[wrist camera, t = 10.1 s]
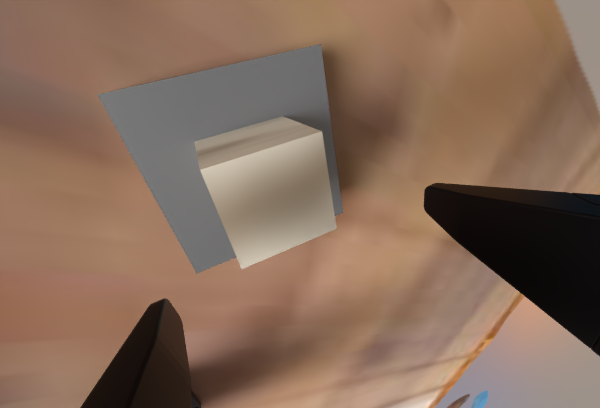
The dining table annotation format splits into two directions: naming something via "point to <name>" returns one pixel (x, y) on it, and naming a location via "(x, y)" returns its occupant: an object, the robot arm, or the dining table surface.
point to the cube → (268, 186)
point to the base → (213, 121)
